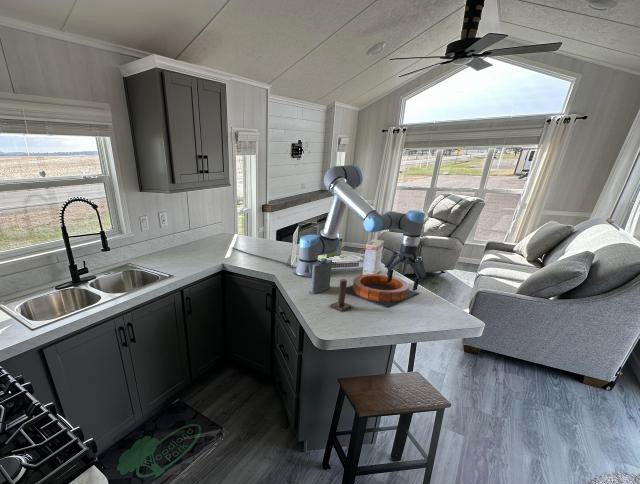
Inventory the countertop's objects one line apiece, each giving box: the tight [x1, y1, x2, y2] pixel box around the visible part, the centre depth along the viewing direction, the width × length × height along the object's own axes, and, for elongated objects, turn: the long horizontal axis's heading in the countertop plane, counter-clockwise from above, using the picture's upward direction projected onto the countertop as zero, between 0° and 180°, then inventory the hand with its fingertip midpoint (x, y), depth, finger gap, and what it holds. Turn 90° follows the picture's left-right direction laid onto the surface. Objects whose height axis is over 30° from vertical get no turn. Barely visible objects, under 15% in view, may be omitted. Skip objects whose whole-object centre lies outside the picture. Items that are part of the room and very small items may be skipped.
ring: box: [352, 273, 410, 302], centre depth 175 cm, size 27×27×5 cm
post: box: [330, 278, 352, 312], centre depth 157 cm, size 7×7×14 cm
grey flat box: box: [310, 258, 333, 295], centre depth 177 cm, size 4×14×18 cm, turn 129°
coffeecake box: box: [361, 238, 385, 275], centre depth 199 cm, size 15×7×20 cm, turn 145°
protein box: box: [318, 237, 343, 258], centre depth 227 cm, size 10×16×16 cm
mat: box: [345, 284, 419, 308], centre depth 176 cm, size 28×28×1 cm
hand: (401, 285), depth 164 cm, fingers open, 13 cm apart
